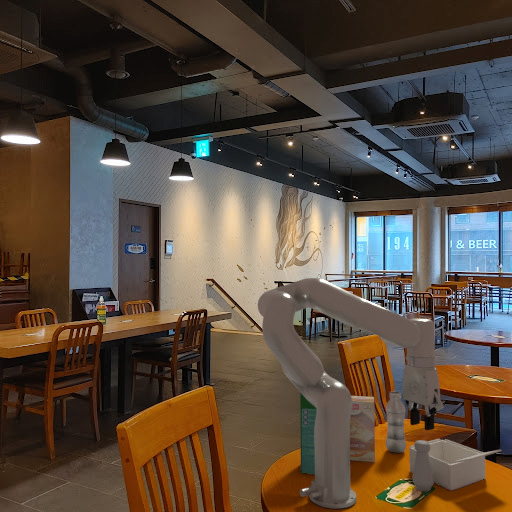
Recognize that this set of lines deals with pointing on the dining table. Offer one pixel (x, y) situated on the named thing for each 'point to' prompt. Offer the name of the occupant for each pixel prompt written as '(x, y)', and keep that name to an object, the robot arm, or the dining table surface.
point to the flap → (477, 456)
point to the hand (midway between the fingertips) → (422, 426)
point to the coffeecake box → (362, 429)
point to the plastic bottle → (395, 423)
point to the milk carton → (307, 435)
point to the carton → (452, 464)
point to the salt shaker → (422, 467)
